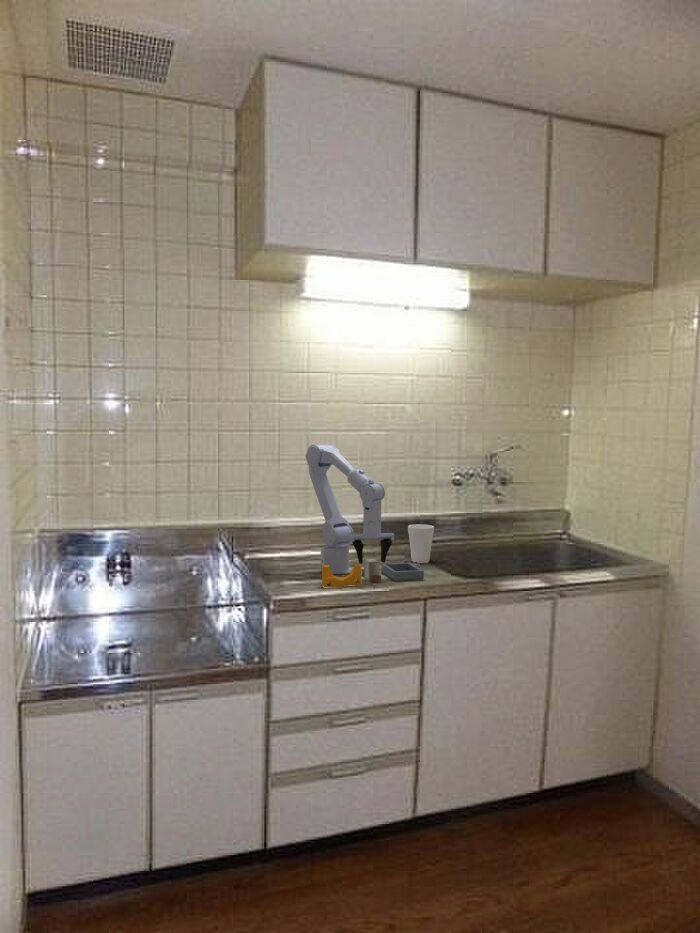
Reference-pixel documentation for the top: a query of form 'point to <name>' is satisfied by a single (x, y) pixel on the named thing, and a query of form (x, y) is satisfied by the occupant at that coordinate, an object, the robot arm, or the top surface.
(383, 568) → the parts tray
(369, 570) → the grey block
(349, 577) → the pipe clamp
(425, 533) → the foam cup
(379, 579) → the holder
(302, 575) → the top surface
